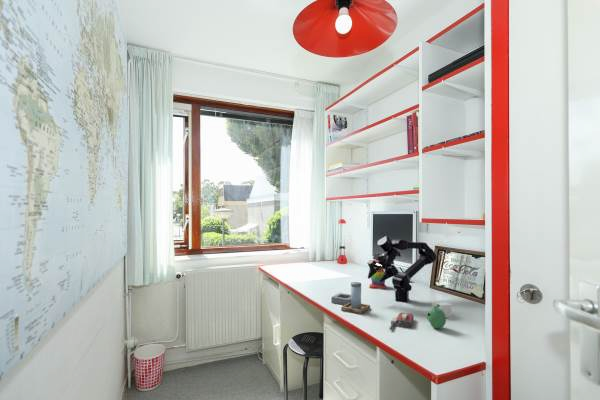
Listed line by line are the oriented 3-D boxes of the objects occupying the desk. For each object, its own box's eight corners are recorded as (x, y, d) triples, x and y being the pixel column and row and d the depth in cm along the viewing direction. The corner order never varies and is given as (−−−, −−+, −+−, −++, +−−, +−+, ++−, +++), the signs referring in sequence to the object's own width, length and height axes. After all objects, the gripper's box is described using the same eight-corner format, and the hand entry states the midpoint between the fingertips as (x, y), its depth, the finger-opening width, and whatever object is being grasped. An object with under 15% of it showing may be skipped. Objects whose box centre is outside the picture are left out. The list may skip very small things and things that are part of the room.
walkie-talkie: (394, 317, 153) (388, 332, 135) (394, 308, 153) (388, 321, 135) (414, 320, 150) (410, 335, 131) (414, 310, 150) (409, 324, 131)
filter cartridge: (361, 306, 165) (361, 282, 166) (361, 309, 160) (361, 284, 161) (350, 306, 166) (350, 281, 167) (350, 309, 161) (350, 284, 162)
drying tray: (370, 308, 165) (370, 305, 165) (361, 314, 156) (361, 310, 156) (350, 305, 171) (350, 301, 171) (341, 310, 162) (341, 306, 162)
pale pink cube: (451, 317, 153) (451, 304, 153) (440, 318, 151) (440, 305, 151) (442, 313, 159) (442, 300, 159) (432, 314, 157) (432, 301, 157)
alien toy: (429, 323, 144) (429, 301, 144) (448, 327, 139) (447, 304, 139) (424, 328, 138) (424, 304, 138) (443, 332, 133) (443, 308, 134)
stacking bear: (369, 288, 207) (369, 260, 208) (370, 284, 217) (370, 258, 217) (386, 289, 204) (386, 261, 205) (386, 285, 214) (386, 259, 214)
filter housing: (356, 301, 178) (356, 295, 178) (348, 305, 170) (348, 299, 170) (339, 298, 184) (339, 292, 184) (331, 302, 175) (331, 297, 176)
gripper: (369, 245, 182) (354, 267, 176) (394, 249, 165) (378, 273, 160) (380, 258, 185) (365, 280, 180) (405, 263, 169) (390, 287, 163)
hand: (374, 279), depth 171 cm, fingers open, 9 cm apart
